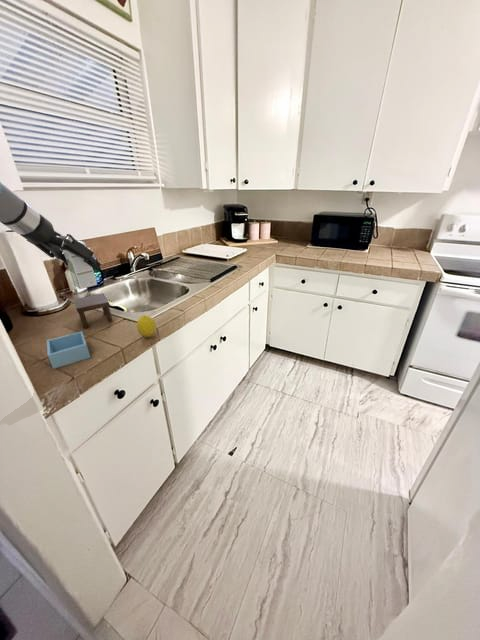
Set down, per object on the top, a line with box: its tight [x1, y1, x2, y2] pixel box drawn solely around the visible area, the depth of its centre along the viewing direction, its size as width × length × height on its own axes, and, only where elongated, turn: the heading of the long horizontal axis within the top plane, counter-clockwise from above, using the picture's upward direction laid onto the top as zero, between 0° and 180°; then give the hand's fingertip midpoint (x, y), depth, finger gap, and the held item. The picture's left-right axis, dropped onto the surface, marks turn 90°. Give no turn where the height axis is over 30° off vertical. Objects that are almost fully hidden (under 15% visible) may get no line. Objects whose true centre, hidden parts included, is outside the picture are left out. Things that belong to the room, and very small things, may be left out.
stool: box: [73, 292, 114, 330], centre depth 94 cm, size 10×10×8 cm
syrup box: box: [62, 239, 98, 290], centre depth 86 cm, size 6×6×14 cm
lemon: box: [136, 314, 156, 338], centre depth 84 cm, size 6×6×8 cm
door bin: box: [46, 331, 91, 370], centre depth 76 cm, size 9×9×4 cm
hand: (88, 266), depth 90 cm, fingers closed on syrup box, 7 cm apart
